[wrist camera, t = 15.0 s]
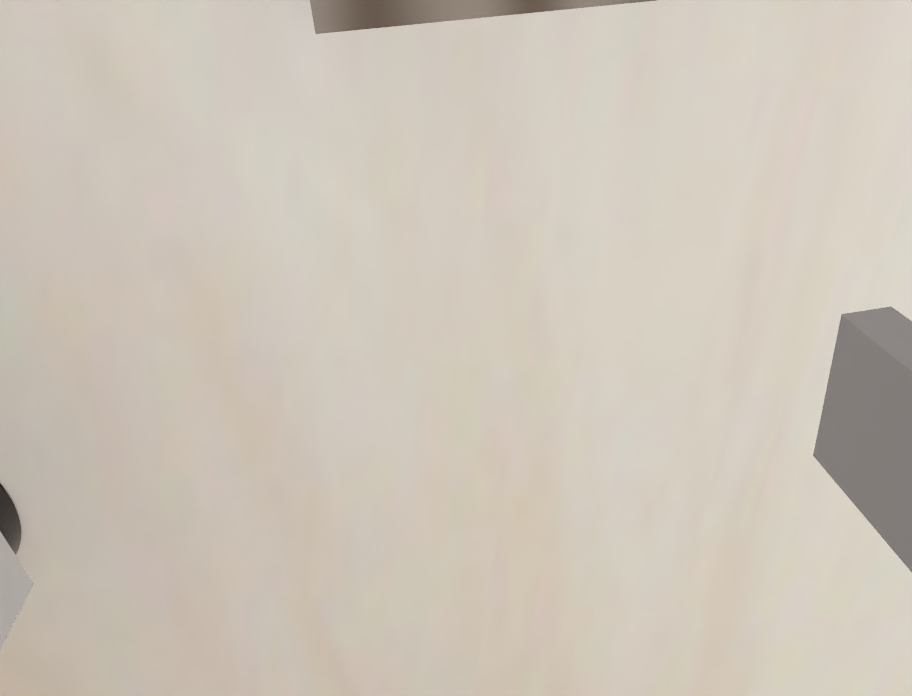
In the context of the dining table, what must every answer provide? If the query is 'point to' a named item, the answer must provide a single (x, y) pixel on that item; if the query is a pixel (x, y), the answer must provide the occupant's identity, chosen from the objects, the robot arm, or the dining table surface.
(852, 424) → the robot arm
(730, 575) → the dining table surface
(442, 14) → the podium
